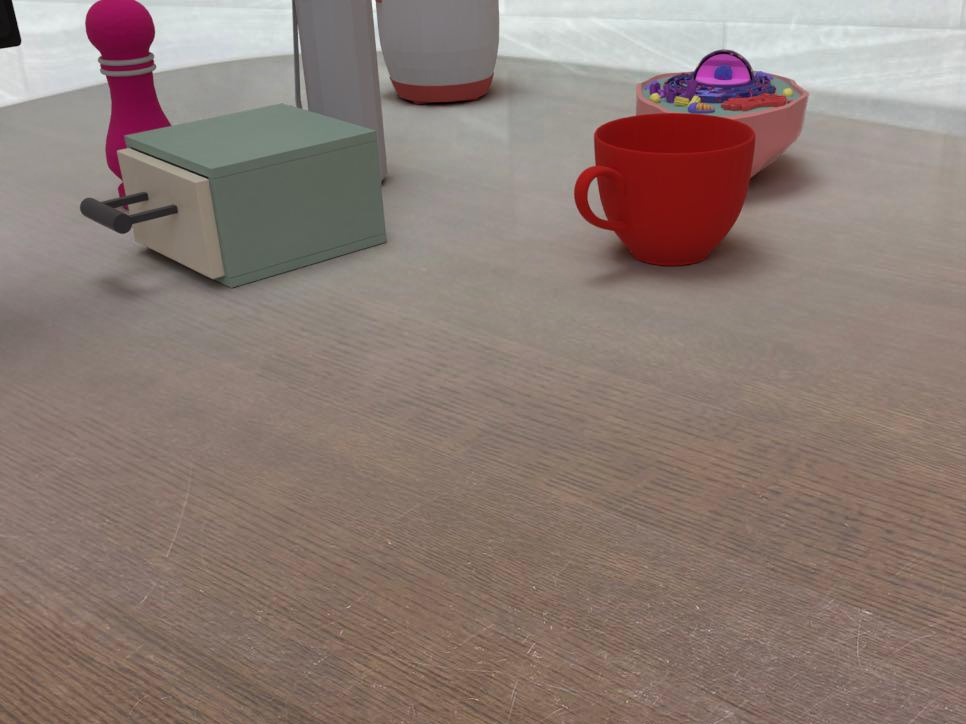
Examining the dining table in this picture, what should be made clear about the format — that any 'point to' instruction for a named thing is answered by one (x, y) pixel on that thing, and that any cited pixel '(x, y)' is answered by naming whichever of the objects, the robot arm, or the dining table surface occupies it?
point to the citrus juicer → (439, 47)
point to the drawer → (164, 211)
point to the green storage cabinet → (280, 185)
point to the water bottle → (339, 63)
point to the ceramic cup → (669, 183)
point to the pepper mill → (125, 72)
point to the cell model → (732, 100)
